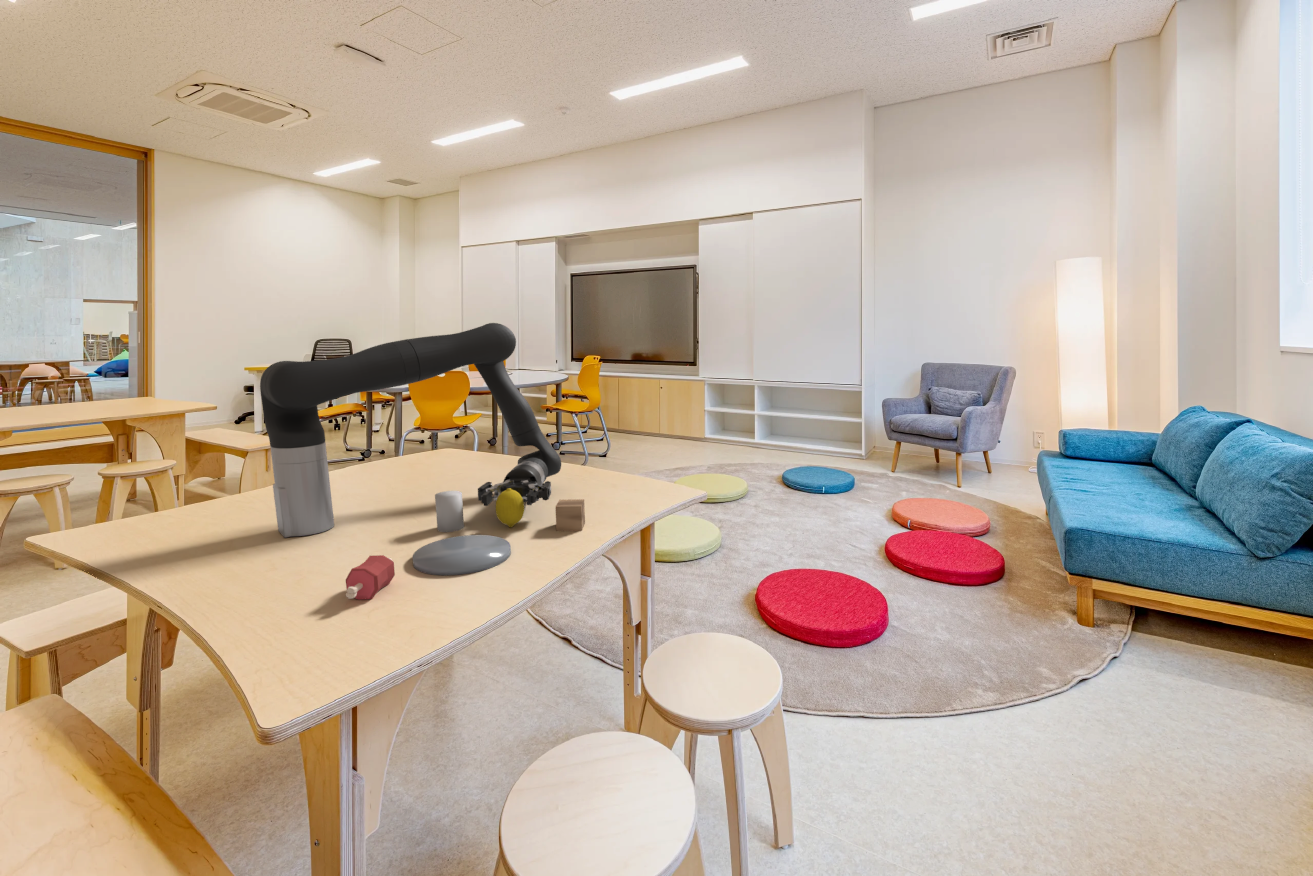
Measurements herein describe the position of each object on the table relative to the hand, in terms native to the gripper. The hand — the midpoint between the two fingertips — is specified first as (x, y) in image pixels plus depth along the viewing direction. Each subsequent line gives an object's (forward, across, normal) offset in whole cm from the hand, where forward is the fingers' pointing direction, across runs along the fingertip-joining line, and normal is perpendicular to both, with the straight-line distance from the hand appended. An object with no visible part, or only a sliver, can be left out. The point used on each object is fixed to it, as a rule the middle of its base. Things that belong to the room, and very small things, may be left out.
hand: (507, 500), depth 115 cm
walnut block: (-2, +12, +6) cm, 14 cm away
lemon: (-2, 0, +6) cm, 6 cm away
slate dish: (+14, -4, +6) cm, 16 cm away
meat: (+28, -14, +6) cm, 32 cm away
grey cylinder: (-2, -12, +6) cm, 14 cm away
